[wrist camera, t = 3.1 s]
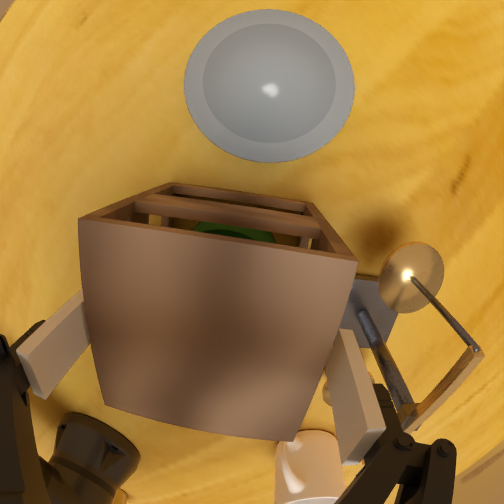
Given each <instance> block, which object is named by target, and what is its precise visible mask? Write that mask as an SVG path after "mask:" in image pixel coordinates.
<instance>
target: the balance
mask: <svg viewBox="0 0 504 504" xmlns="http://www.w3.org/2000/svg"><path fill="white" fill-rule="evenodd" d="M443 277H444V265H443V261H442V258H441V256H440V254H439V253H438V252H437V251H436V250H435V249H434V248H432V247H431V246H430V245H428V244H426V243H423V242H410V243H406V244H404V245H402V246H400V247H398V248H397V249H395V250H394V251H393V252H392V253H391V254H390V255H389V256H388V257H387V259H386V260H385V262H384V263H383V265H382V267H381V270H380V273H379V277H374V276H367V275H360V274H355V277H354V281H353V284H352V288H351V291H350V294H349V298H348V301H347V304H346V307H345V310H344V313H343V317H342V320H341V323H340V326H339V329H348V330H353V332H354V335H355V338H356V340H357V343H358V346H359V347H360V348H371V350H372V352H373V355H374V357H375V359H376V362H377V364H378V366H379V369H380V371H381V373H382V376H383V378H384V380H385V383H386V385H387V388H388V390H389V392H390V395H391V397H392V400H393V402H394V405H395V407H396V410H397V416H398V418H399V421H400V424H401V427H402V430H403V432H406V433H408V434H411V433H412V432H413V431H417V430H418V428H419V427H420V426H421V424H422V423H423V422H424V421H425V420H426V419H427V418H429V417H430V416H431V415H432V414H433V413H434V412H435V411H436V410H437V409H438V408H439V407H440V406H441V405H442V404H443V403H444V402H445V401H446V400H447V399H448V398H449V397H450V396H451V395H452V394H453V393H454V392H455V391H456V390H457V388H458V387H459V386H460V385H461V384H462V383H463V382H464V381H465V380H466V378H467V377H468V376H469V375H470V374H471V373H472V372H473V370H474V369H475V368H476V367H477V366H478V364H479V363H480V362H481V361H482V359H483V358H484V357H485V355H484V353H483V351H482V349H481V347H480V346H478V345H477V343H476V342H475V341H474V340H473V339H472V338H471V336H470V335H469V334H468V333H467V332H466V331H465V330H464V328H463V327H462V326H461V325H460V324H459V323H458V322H457V321H456V319H455V318H454V317H453V316H452V315H451V314H450V313H449V312H448V311H447V310H446V309H445V308H444V306H443V305H442V304H441V303H440V302H439V301H438V300H437V299H436V298H435V296H436V294H437V293H438V291H439V289H440V287H441V285H442V282H443ZM430 302H431V304H432V305H433V306H434V307H435V308H436V309H437V310H438V311H439V313H440V314H441V315H442V316H443V317H444V318H445V319H446V321H447V322H448V323H449V324H450V325H451V326H452V328H453V329H454V330H455V331H456V332H457V333H458V335H459V336H460V337H461V338H462V339H463V341H464V342H465V343H466V344H467V346H468V348H467V349H466V351H465V352H464V353H463V354H462V356H461V357H460V358H459V360H458V361H457V362H456V363H455V365H454V366H453V367H452V368H451V370H450V371H449V372H448V373H447V374H446V376H445V377H444V378H443V379H442V380H441V381H440V383H439V384H438V385H437V386H436V387H435V388H434V389H433V390H432V392H431V393H430V394H429V395H428V396H427V397H426V398H425V399H424V400H423V401H422V402H421V403H414V401H413V399H412V397H411V395H410V393H409V390H408V388H407V386H406V384H405V382H404V380H403V378H402V376H401V374H400V372H399V370H398V368H397V366H396V364H395V362H394V360H393V358H392V356H391V354H390V352H389V350H388V348H387V346H386V342H387V339H388V337H389V335H390V332H391V330H392V327H393V325H394V322H395V320H396V317H397V315H398V313H411V312H415V311H418V310H420V309H422V308H423V307H425V306H426V305H427V304H429V303H430ZM339 329H338V330H339ZM337 333H338V332H337ZM336 336H337V334H336ZM335 339H336V337H335ZM334 342H335V340H334ZM333 345H334V343H333ZM368 374H369V377H370V380H371V383H372V384H375V382H374V379H373V376H372V375H371V373H370V372H368ZM322 394H323V399H324V401H325V402H326V403H327V404H328V405H329V406H332V403H331V398H330V392H329V387H328V381H326V383H325V384H324V386H323V390H322ZM364 464H365V462H364V458H363V459H362V465H364Z"/></svg>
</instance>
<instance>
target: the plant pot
mask: <svg viewBox="0 0 504 504" xmlns="http://www.w3.org/2000/svg"><path fill="white" fill-rule="evenodd" d="M126 499H127V495H126V493H125V492H123V491H122V490H120V489H118V490H117V492H116V494H115V497H114V499H113V502H112V504H126Z"/></svg>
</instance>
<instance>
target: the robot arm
mask: <svg viewBox="0 0 504 504" xmlns="http://www.w3.org/2000/svg"><path fill="white" fill-rule="evenodd" d="M89 344H90V337H89V332H88V326H87V319H86V313H85V306H84V298H83V289H81V290H80V291H79V292H78V293H77V294H76V295H74V296H73V297H72V298H71V299H70V300H69V301H68V302H66V303H65V304H64V305H63V306H62V307H61V308H60V309H59V310H58V311H56V312H55V313H54V314H53V315H52V316H51V317H50V318H49V319H48V320H47V321H45V320H42V321H40V322H37V323H35V324H34V325H33V326H32V327H31V328H30V329H29V330H28V331H27V332H25V333H24V335H22V336H21V337H20V338H19V339H18V340H17V341H16V342H15V343H14V344H13V345H12V346H11V347H10V348H9V345H8V343H7V340H6V337H5V336H4V335H2V334H0V504H112V502H113V499H114V497H115V494H116V492H117V490H118V489H119V488H120V487H121V486H122V485H123V484H124V482H125V481H126V480H127V479H128V478H129V477H130V476H131V475H132V474H133V473H134V472H135V471H136V469H137V467H138V464H139V461H140V455H139V453H138V451H137V449H136V448H135V447H134V446H133V445H132V444H131V443H130V442H129V441H128V440H127V439H126V438H125V437H123V436H122V435H121V434H119V433H118V432H117V431H115V430H114V429H112V428H110V427H109V426H107V425H105V424H103V423H102V422H100V421H98V420H95V419H93V418H91V417H88V416H85V415H82V414H78V413H67V414H65V415H64V416H63V418H62V419H61V421H60V423H59V425H58V428H57V434H56V439H55V446H54V452H53V455H52V457H51V459H50V460H49V462H47V461H45V460H44V459H43V458H42V457H41V456H39V455H38V453H37V448H36V443H35V437H34V432H33V426H32V419H31V412H30V403H29V395H28V392H27V389H28V388H29V387H30V386H31V389H32V391H33V393H34V394H35V395H37V396H38V397H40V398H42V399H44V400H46V399H47V398H48V396H49V395H50V394H51V392H52V391H53V390H54V388H55V387H56V386H57V385H58V383H59V382H60V381H61V379H62V378H63V377H64V375H65V374H66V373H67V372H68V370H69V369H70V368H71V366H72V365H73V364H74V363H75V361H76V360H77V359H78V358H79V356H80V355H81V354H82V353H83V351H84V350H85V349H86V348H87V346H88V345H89ZM325 370H326V376H327V381H328V387H329V392H330V398H331V403H332V409H333V415H334V421H335V427H336V433H337V440H338V446H339V453H340V460H341V465H358V464H359V463H360V462H361V460H362V459H363V458H364V462H365V466H364V467H363V468H362V469H361V470H360V472H359V473H358V474H357V475H356V477H355V479H354V480H353V481H352V482H351V484H350V485H349V486H348V487H347V489H346V490H345V491H344V492H343V493H342V495H341V496H340V497H339V498H338V499H337V500H336V502H335V503H334V504H384V502H385V501H386V499H387V498H388V496H389V495H390V493H391V491H392V490H393V488H394V486H395V485H396V484H400V486H399V489H398V493H397V496H396V500H395V503H394V504H451V503H452V497H453V489H454V479H455V469H456V455H457V452H456V448H455V446H454V444H453V443H452V442H451V441H449V440H447V439H437V440H436V441H435V442H434V443H433V444H432V445H427V444H421V443H417V442H415V440H414V439H413V437H412V436H411V435H409V434H408V433H406V432H403V430H402V427H401V424H400V421H399V418H398V416H397V413H396V410H395V408H394V405H393V402H392V401H391V400H392V399H391V397H390V394H389V391H388V390H387V389H386V388H385V387H384V386H383V385H382V384H372V383H371V380H370V377H369V374H368V371H367V368H366V365H365V362H364V360H363V357H362V354H361V351H360V349H359V346H358V343H357V340H356V338H355V335H354V332H353V330H348V329H339V330H338V333H337V336H336V339H335V342H334V345H333V347H332V350H331V353H330V355H329V358H328V361H327V363H326V366H325Z"/></svg>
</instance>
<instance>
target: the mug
mask: <svg viewBox="0 0 504 504" xmlns="http://www.w3.org/2000/svg"><path fill="white" fill-rule="evenodd" d="M345 490H346V487H345V481H344V474H343V468H342V465H341V460H340V453H339V446H338V442H337V440H336V438H335V437H334V436H333V435H332V434H330V433H328V432H325V431H321V430H304V431H299V432H298V433H297V435H296V437H295V439H294V441H293V442H284V441H280V442H279V443H278V445H277V447H276V450H275V504H334V503H335V502H336V500H337V499H338V498H339V497H340V496H341V495H342V493H343V492H344V491H345Z"/></svg>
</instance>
